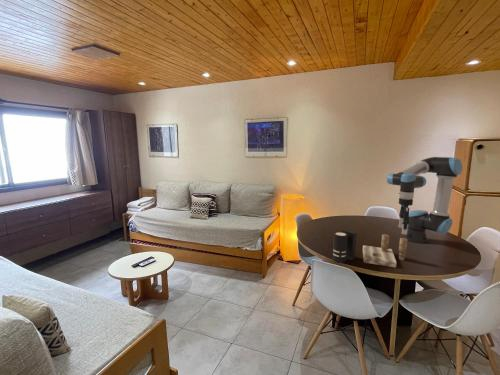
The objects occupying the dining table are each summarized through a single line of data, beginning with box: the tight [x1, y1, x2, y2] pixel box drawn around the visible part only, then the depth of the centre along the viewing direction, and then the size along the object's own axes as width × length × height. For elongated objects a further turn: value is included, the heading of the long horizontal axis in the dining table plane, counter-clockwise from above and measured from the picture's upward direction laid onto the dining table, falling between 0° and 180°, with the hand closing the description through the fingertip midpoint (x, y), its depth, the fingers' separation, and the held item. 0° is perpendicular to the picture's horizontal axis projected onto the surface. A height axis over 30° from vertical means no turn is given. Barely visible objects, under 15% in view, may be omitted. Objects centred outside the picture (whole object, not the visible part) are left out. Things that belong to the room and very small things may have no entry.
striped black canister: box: [332, 228, 357, 264], centre depth 163 cm, size 10×14×18 cm
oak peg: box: [398, 237, 409, 261], centre depth 163 cm, size 4×4×14 cm
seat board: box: [362, 233, 397, 268], centre depth 165 cm, size 18×22×14 cm
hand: (402, 230), depth 162 cm, fingers open, 13 cm apart
